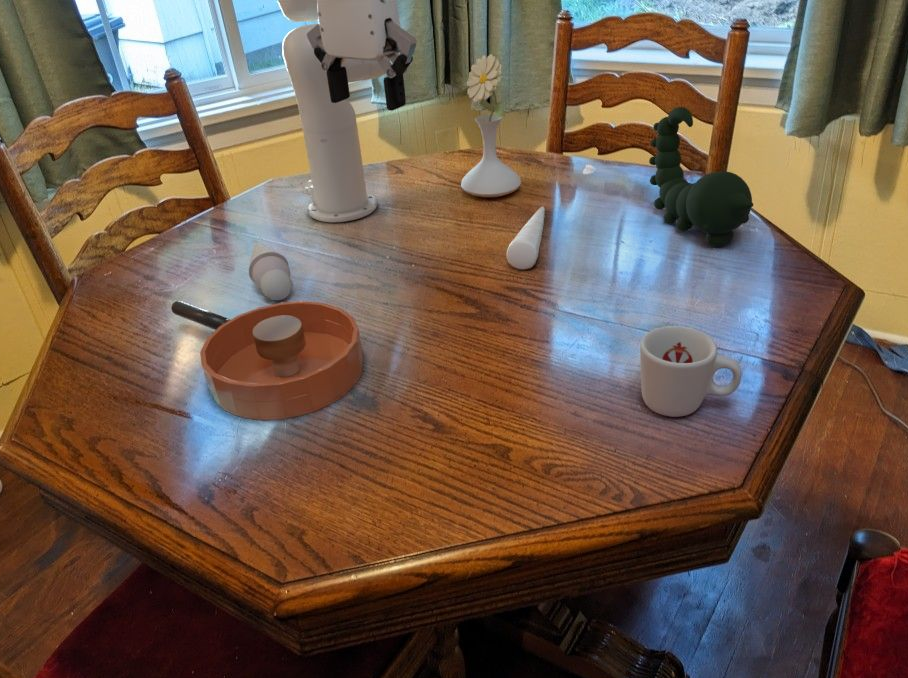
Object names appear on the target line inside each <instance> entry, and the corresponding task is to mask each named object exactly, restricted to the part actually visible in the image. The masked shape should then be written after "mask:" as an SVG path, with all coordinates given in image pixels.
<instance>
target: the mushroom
mask: <svg viewBox="0 0 908 678" xmlns="http://www.w3.org/2000/svg"><path fill="white" fill-rule="evenodd" d="M252 334H253V338H254V341H255V345H256V349H257V353H258V355H259V356H260V357H262V358H264V359H267V360H272V364H273V368H274V372H275V374H276V375H277V376H279V377H289V376H292V375H294V374H296V373H297V372H298V371H299V369H300V366H299V361H298V357H297V354H299V353H300V352H301V351H302V350H303V349H304V348H305V345H306V341H305V336H304V332H303V327H302V323H301V321H300V320H299V319H298V318H296V317H293V316H275V317H271V318H268V319H265V320H263V321H261V322H260V323H258V324H257V325H256V326H255V327H254V328H253V331H252Z"/></svg>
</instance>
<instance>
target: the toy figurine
mask: <svg viewBox="0 0 908 678" xmlns="http://www.w3.org/2000/svg"><path fill="white" fill-rule="evenodd" d="M683 122H684V123H685V124H686V125H687V126H688V127H689V128H692V127H693V126H694V118H693V115H692V112H691V110H689V109H688V108H687V107H684V106H676V107H674V108H672V109H671V110H670V111H669V113H668V116H665V117H662V118H661V119H660V120H659V121H658V122H654V124H653V126H652V127H653V128H652V129H653V130H654V131H655V132H656V133H657V134H658V135H657V136H656V137H654V138H652V139H651V141H650V145H651V146H652V148H655V149H656V150H657V153H656V155H655V156H651V157H650V158H649V160H648V163H649V165H651V166H655V167H656V169H657V170H656V171H655V174H653V175H652V176H650V179H649V183H650V185H653V186H657V187H659V197H656V199H654V201H653V206H654V208H655V209H656V210H659V211H660V210H663V209H665V211H666V212H665V213H664V215H663V220H664V223H665V224H668V225H671V224H674V223H675V226H676V228H677V230H678V231H679V232H682V233H685V232H688V231H690V230H691V229H692V228H693V227H695V228H697V229H698V230H699V231H701V232H703V233H706V237H705V239H706V242H707V244H708V245H709V246H711V247H723V246H726V245H728V244H730V243H732V241H733V239H734V237H735V232H734V231H735V230H736V229H738V228H739V227H741V226H742V225H744V224H746V223H748V222H749V220H750V212H751V210H752V208H753V207H754V203H753V196H752V192H751V189H750V187H749V185H748V183H746V181H745V180H744V179H743V178H742V176H740V175H738V174H737V173H734V172H731V171H726V170H719V171H718V170H717V171H712V172H709V173H707V174H705V175H703V176H701V177H700V178H698V180H697V181H695V182H693V183H691V182H689V181H687V179H685V173H684V169H683V167H682V166H681V162H682V154H681V152H680V151H679V148H680V145H681V138H680V137H681V136H679V134H678V132H679V129H680V124H681V123H683Z"/></svg>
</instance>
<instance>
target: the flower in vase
mask: <svg viewBox="0 0 908 678" xmlns="http://www.w3.org/2000/svg"><path fill="white" fill-rule="evenodd" d="M502 67H503V66H502V64H500V61H499V59H498V58H496V56H495V55H493V54H492V53H490V54H489V55H487V56H486V55H485V54H484V55H482V56H481V58H478V59H477V60H476V64H472V65H471V67H470V69H471V70H470V72H469V73H468V79H467V82H466V86H467V87H468V88H467V96H468V97H469V99H473V102H474V103H477V102H478V104H479V105H480V106H481V107H483V108H484V109H485V110H487V111H489V112H490V113H484V114H480V115H477V116H475V117H474V121H475V122H476V124H477V125H478V127H479V129H480V132H481V136H482V143H483V152H482V153H483V154H482V158H481V160H480V161H479V162H478V163H477V164H476V165H474V167H472V168H471V169H470V170H469V171H468V172H467V173H466V174H465V175H464V176H463V177H462V180H461V182H460V186H461V189H462V190H463V191H464V192H465V193H467V194H468V195H471V196H475V197H480V198H498V197H502V196H503V197H504V196H505V195H509V194H511V193H513V192H515V191H517V190H518V189H519V187H520V186H521V184H522V179H521V177H520V175H519V174H518V173H517V172H516V170H514V169H513V168H511V167H510V166H508V165H507V164H505V163H504V162H503V161H502V160H500V159H499V156H498V155H497V154H498V153H497V146H496V145H497V144H496V141H497V131H498V129H499V125H500V123H501V121H502V119H503V117H506V113H505V110H504V109H505V108H504V104H503V102H502V101H498V102H497V95H496V92H495V91H496V90H497V86H498V84H500V82H501V80H502V79H501V75H502ZM491 96H493V99H494V102H493V106H492V104H491V103H490V102H488V101H486V100H488V99H489V97H491Z"/></svg>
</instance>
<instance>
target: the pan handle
mask: <svg viewBox="0 0 908 678" xmlns="http://www.w3.org/2000/svg"><path fill="white" fill-rule="evenodd" d="M170 308H171V309H170V310H171V313H173V314H174V315H176V316H178V317H180V318H183V319H186V320H187V321H188V320H189V321H191V322H194V323H196V324H199V325H202V326H204V327H207V328H209V329H212V330H214V331H215V330H216V329H217V328H218V327H220V326H221V325H223V324H224V323H226V322H228V321H230V320H231V319H232V318H228V317H226V316H223V315H220V314H217V313H214V312H211V311H209V310H207V309H204V308H201V307H198V306H195V305H193V304H190V303H187V302H184V301H182V300H176V301H174V302H173V303H172V304H171V307H170Z"/></svg>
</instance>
